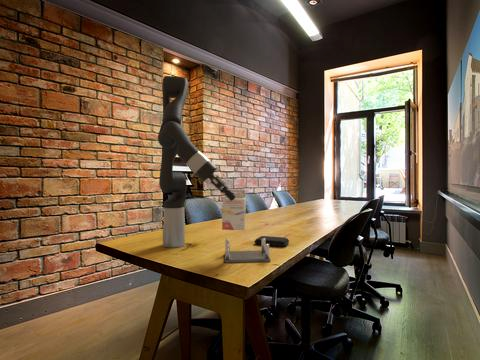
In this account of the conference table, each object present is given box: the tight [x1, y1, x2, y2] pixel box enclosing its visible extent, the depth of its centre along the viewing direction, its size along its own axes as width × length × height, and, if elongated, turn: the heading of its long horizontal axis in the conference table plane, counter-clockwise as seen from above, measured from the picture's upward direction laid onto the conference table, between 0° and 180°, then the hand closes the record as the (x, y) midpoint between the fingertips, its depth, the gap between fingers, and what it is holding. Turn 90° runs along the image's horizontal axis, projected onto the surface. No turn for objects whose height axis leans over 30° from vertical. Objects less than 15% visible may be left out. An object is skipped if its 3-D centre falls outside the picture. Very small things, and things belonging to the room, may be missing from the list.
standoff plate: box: [224, 238, 271, 264], centre depth 107 cm, size 16×12×6 cm
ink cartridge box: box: [221, 189, 247, 231], centre depth 106 cm, size 9×5×15 cm, turn 85°
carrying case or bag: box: [253, 235, 290, 248], centre depth 129 cm, size 11×3×15 cm
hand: (233, 198), depth 106 cm, fingers closed on ink cartridge box, 5 cm apart
